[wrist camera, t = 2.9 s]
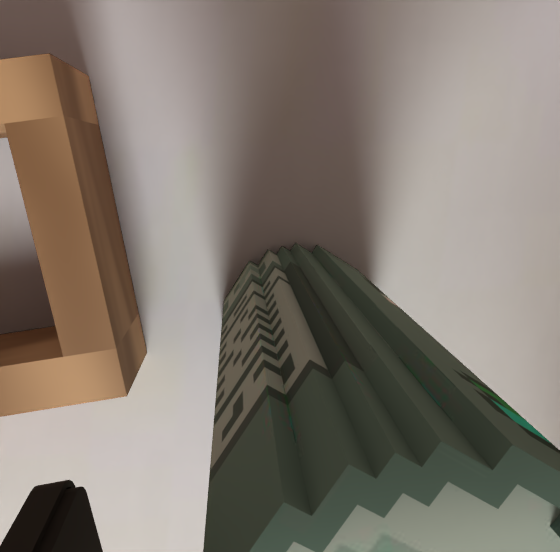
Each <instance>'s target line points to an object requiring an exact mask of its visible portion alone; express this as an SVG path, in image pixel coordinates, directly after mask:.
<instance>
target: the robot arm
mask: <svg viewBox="0 0 560 552" xmlns="http://www.w3.org/2000/svg"><path fill="white" fill-rule="evenodd" d="M0 552H103V551H102V547H101V544H100V540H99V536H98V533H97V529H96V525H95V522H94V518H93V514H92V511H91V507H90V503H89V500H88V496H87V493H86V490H85V489H84V487H75V485H74V483H73V482H72V481H70V480H66V481H60V482H55V483H49V484H44V485H38V486H36V487H34V488H33V489H32V491H31V492H30V494H29V496H28V498H27V499H26V501H25V503H24V505H23V507H22V508H21V510H20V512H19V514H18V515H17V517H16V519H15V521H14V522H13V524H12V526H11V528H10V530H9V531H8V533H7V535H6V537H5V538H4V540H3V542H2V544H1V546H0Z"/></svg>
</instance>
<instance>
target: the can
mask: <svg viewBox="0 0 560 552" xmlns="http://www.w3.org/2000/svg"><path fill="white" fill-rule="evenodd" d="M203 552H560V450H558V449H557V448H556V447H555V446H554V445H553V444H552V443H551V442H549V441H548V440H547V439H546V438H545V437H544V436H543V435H542V434H540V433H539V432H538V431H537V430H536V429H535V428H534V427H533V426H532V425H530V424H529V423H528V422H527V421H526V420H525V419H524V418H523V417H521V416H520V415H519V414H518V413H517V412H516V411H515V410H514V409H512V408H511V407H510V406H509V405H508V404H507V403H506V402H505V401H504V400H502V399H501V398H500V397H499V396H498V395H497V394H496V393H495V392H493V391H492V390H491V389H490V388H489V387H488V386H487V385H486V384H484V383H483V382H482V381H481V380H480V379H479V378H478V377H477V376H476V375H474V374H473V373H472V372H471V371H470V370H469V369H468V368H467V367H465V366H464V365H463V364H462V363H461V362H460V361H459V360H458V359H456V358H455V357H454V356H453V355H452V354H451V353H450V352H449V351H448V350H446V349H445V348H444V347H443V346H442V345H441V344H440V343H439V342H437V341H436V340H435V339H434V338H433V337H432V336H431V335H430V334H428V333H427V332H426V331H425V330H424V329H423V328H422V327H421V326H420V325H418V324H417V323H416V322H415V321H414V320H413V319H412V318H411V317H409V316H408V315H407V314H406V313H405V312H404V311H403V310H402V309H400V308H399V307H398V306H397V305H396V304H395V303H394V302H393V301H392V300H390V299H389V298H388V297H387V296H386V295H385V294H384V293H383V292H381V291H380V290H379V289H378V288H377V287H376V286H375V285H374V284H372V283H371V282H370V281H369V280H368V279H367V278H366V277H365V276H364V275H362V274H361V273H360V272H359V271H358V270H357V269H355V268H353V267H352V266H350V265H349V264H347V263H346V262H344V261H342V260H341V259H339V258H338V257H336V256H334V255H333V254H331V253H330V252H328V251H326V250H325V249H323V248H322V247H320V246H318V245H317V246H316V247H315V249H314V250H313V252H312V253H311V252H309V251H308V250H306V249H305V248H303V247H301V246H300V245H298V244H297V243H295V244H294V246H293V247H292V249H291V251H289V250H288V249H286V248H284V247H283V246H282V247H281V248H280V250H279V251H278V253H277V254H275V253H274V252H272V251H270V250H269V249H268V250H267V252H266V254H265V255H264V257H263V258H262V260H261V262H260V263H259V265H258V266H257V265H256V264H254V263H252V262H251V261H249V262H248V264H247V265H246V267H245V269H244V270H243V272H242V273H241V275H240V277H239V278H238V280H237V281H236V283H235V284H234V286H233V288H232V289H231V291H230V292H229V294H228V296H227V297H226V299H225V300H224V305H223V318H222V330H221V342H220V354H219V367H218V379H217V391H216V403H215V416H214V428H213V440H212V452H211V465H210V477H209V489H208V501H207V514H206V526H205V538H204V550H203Z"/></svg>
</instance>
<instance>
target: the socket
mask: <svg viewBox="0 0 560 552" xmlns="http://www.w3.org/2000/svg"><path fill="white" fill-rule="evenodd" d="M5 137H8V141H9V145H10V149H11V153H12V157H13V161H14V165H15V169H16V173H17V177H18V180H19V184H20V188H21V192H22V196H23V200H24V204H25V208H26V212H27V216H28V220H29V224H30V228H31V232H32V236H33V240H34V244H35V247H36V251H37V255H38V259H39V263H40V267H41V271H42V275H43V279H44V283H45V287H46V291H47V295H48V299H49V303H50V307H51V311H52V315H53V318H54V322H55V326H53V327H46V328H40V329H33V330H27V331H20V332H14V333H7V334H1V335H0V417H1V416H7V415H14V414H20V413H26V412H32V411H38V410H44V409H50V408H57V407H63V406H69V405H75V404H81V403H87V402H94V401H100V400H106V399H112V398H118V397H124V396H127V395H128V393H129V390H130V388H131V386H132V384H133V382H134V380H135V377H136V375H137V373H138V371H139V369H140V367H141V364H142V362H143V360H144V358H145V356H146V354H147V351H146V346H145V341H144V337H143V332H142V327H141V322H140V318H139V313H138V308H137V303H136V299H135V294H134V289H133V285H132V280H131V275H130V270H129V266H128V261H127V256H126V251H125V247H124V242H123V237H122V232H121V228H120V223H119V218H118V214H117V209H116V204H115V199H114V195H113V190H112V185H111V180H110V176H109V171H108V166H107V161H106V157H105V152H104V147H103V142H102V138H101V133H100V128H99V124H98V119H97V114H96V109H95V105H94V100H93V95H92V90H91V86H90V81H89V76H88V75H86V74H84V73H82V72H81V71H79V70H77V69H76V68H74V67H72V66H70V65H69V64H67V63H65V62H63V61H62V60H60V59H58V58H56V57H55V56H53V55H51V54H50V53H49V54H41V55H33V56H25V57H17V58H9V59H1V60H0V138H5Z"/></svg>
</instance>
